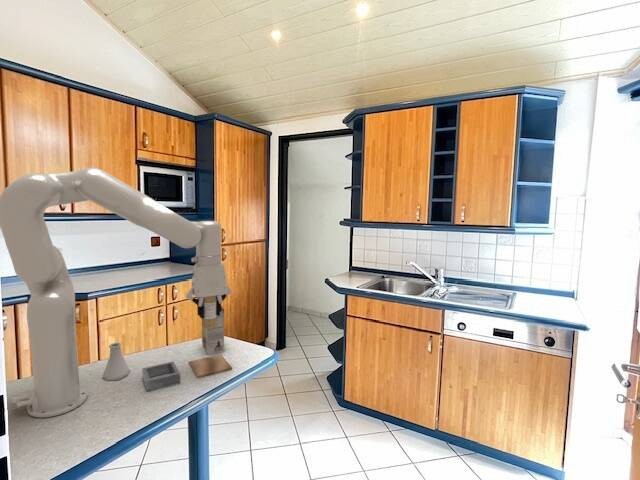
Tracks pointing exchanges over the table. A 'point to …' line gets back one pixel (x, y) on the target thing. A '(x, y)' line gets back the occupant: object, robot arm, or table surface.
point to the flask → (116, 364)
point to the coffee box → (214, 336)
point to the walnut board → (209, 366)
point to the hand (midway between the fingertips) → (209, 315)
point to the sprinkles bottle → (209, 312)
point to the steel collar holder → (163, 380)
